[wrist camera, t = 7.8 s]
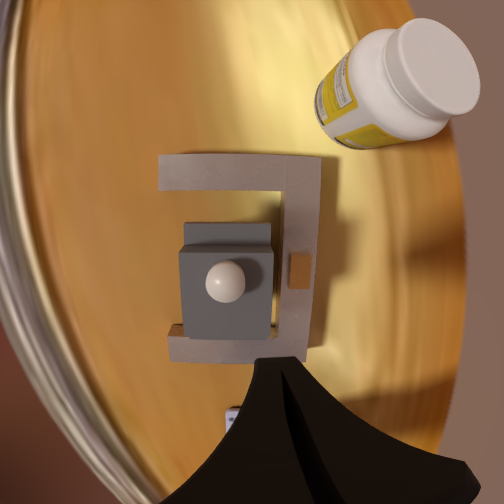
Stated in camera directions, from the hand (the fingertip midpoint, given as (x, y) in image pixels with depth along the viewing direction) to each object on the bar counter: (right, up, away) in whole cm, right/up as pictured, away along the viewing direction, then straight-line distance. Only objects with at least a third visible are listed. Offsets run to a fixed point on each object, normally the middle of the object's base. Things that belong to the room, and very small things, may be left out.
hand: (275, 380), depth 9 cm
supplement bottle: (+6, +13, +8) cm, 16 cm away
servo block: (-2, +4, +9) cm, 10 cm away
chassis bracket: (-2, +4, +9) cm, 10 cm away
